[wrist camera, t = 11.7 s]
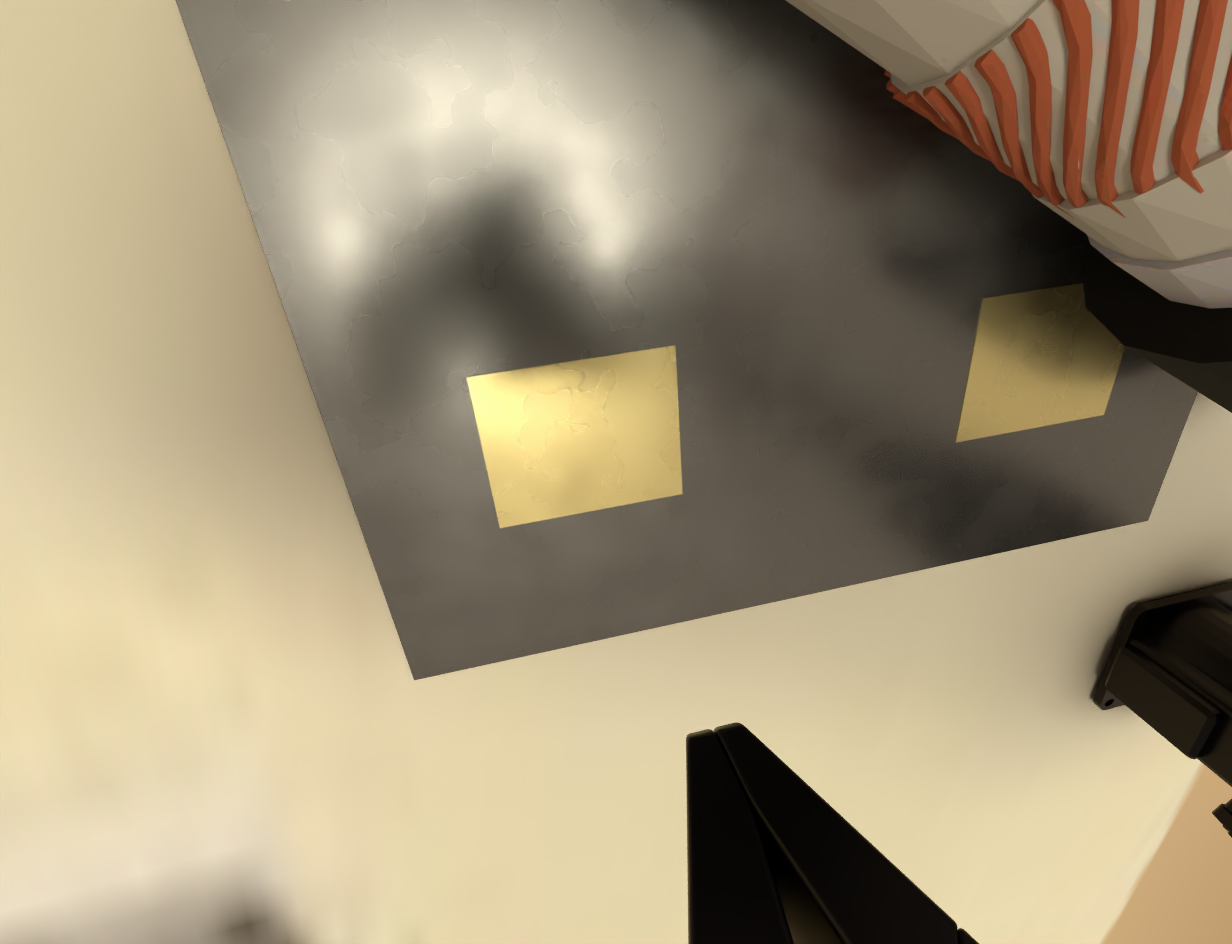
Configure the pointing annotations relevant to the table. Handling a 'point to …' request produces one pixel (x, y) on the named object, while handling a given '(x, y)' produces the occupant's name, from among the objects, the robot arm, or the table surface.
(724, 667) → the table surface
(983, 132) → the banded tapered cylinder
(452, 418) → the plate
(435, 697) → the table surface
